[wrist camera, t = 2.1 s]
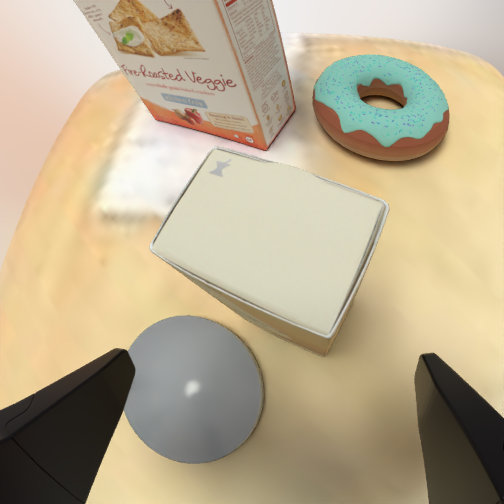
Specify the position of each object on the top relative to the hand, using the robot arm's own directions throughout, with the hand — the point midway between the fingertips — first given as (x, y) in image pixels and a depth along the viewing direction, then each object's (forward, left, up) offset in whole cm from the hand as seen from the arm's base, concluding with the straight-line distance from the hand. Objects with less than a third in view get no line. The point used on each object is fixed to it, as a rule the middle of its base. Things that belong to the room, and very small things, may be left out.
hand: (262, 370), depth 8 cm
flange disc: (+4, +6, -11) cm, 13 cm away
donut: (+9, -20, -11) cm, 24 cm away
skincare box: (+3, -3, -11) cm, 12 cm away
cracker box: (+21, -11, -11) cm, 26 cm away
